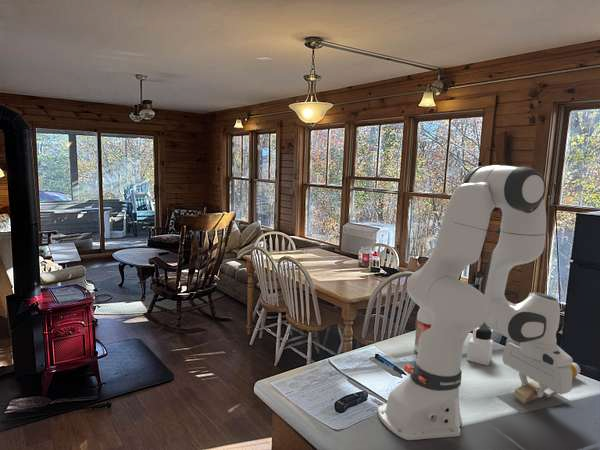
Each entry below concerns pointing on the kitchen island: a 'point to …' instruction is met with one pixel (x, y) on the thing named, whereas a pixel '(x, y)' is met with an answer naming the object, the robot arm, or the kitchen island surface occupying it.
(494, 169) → the robot arm
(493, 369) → the kitchen island surface
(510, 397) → the mat
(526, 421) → the kitchen island surface
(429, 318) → the fruit juice
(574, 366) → the supplement bottle
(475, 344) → the medicine bottle
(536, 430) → the kitchen island surface
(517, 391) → the putty knife
